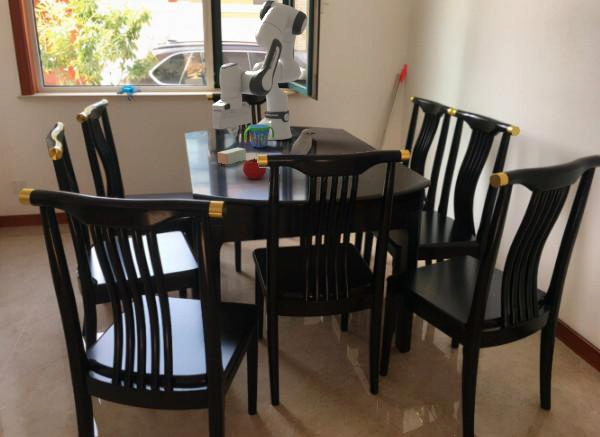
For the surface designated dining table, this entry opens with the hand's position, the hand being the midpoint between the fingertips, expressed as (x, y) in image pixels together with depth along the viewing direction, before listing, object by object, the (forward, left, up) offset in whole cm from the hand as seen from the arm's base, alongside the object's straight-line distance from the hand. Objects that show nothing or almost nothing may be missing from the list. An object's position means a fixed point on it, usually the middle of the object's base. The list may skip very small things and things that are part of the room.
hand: (233, 136), depth 218 cm
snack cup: (-11, +29, -11) cm, 33 cm away
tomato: (+26, -16, -11) cm, 32 cm away
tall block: (0, +4, -8) cm, 9 cm away
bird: (+27, +12, -11) cm, 31 cm away
